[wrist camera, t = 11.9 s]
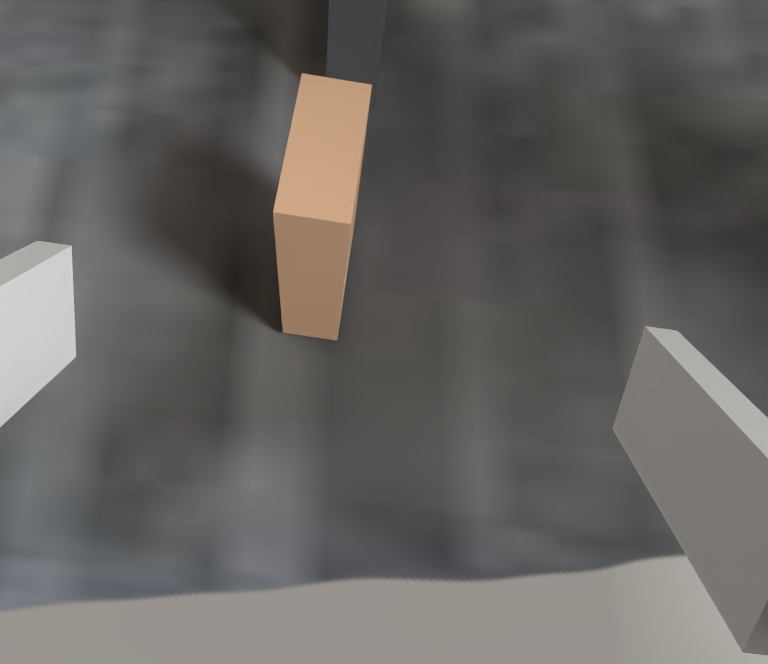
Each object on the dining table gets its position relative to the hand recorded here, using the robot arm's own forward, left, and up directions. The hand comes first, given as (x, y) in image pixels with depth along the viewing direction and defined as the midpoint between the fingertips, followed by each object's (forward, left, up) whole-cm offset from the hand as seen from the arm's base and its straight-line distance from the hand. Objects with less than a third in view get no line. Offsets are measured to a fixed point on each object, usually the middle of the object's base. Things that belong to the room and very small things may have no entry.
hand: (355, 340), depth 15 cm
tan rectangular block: (+2, -11, -20) cm, 23 cm away
